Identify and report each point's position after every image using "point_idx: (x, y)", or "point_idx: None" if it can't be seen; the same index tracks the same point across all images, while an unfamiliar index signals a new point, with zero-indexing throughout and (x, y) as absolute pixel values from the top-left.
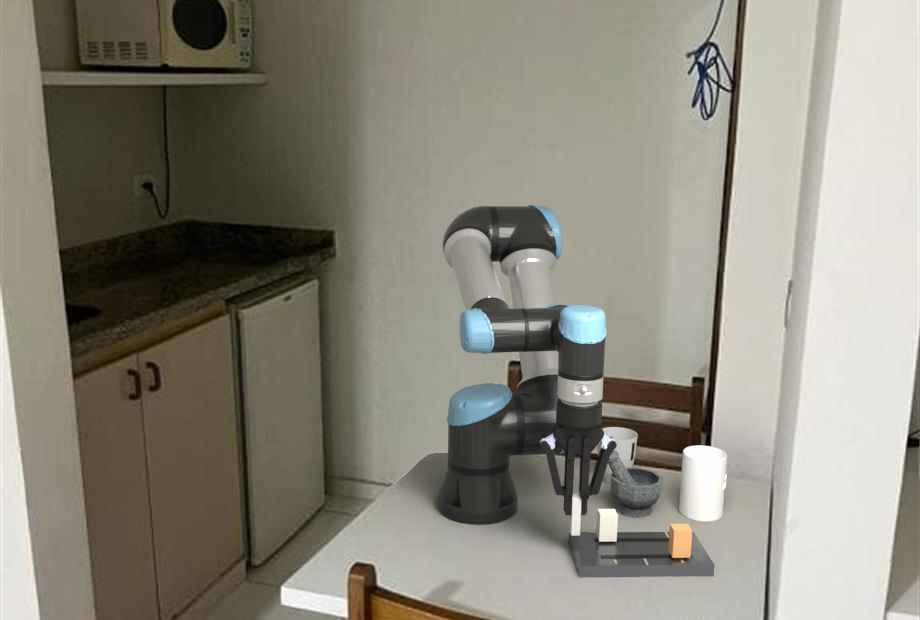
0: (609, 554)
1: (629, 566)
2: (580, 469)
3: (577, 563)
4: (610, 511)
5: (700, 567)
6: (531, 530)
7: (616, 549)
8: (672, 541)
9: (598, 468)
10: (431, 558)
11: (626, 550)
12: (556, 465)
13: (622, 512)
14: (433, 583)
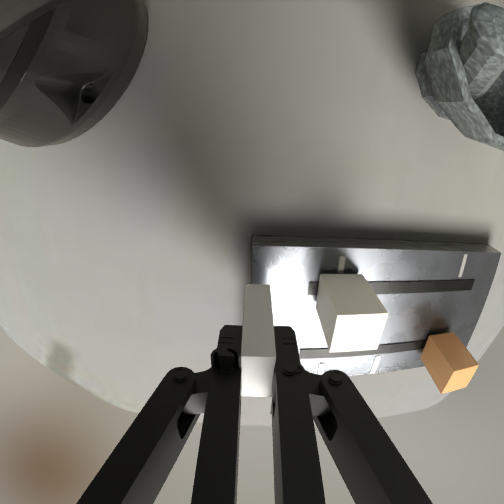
0: (320, 345)
1: None
2: (278, 462)
3: None
4: (368, 329)
5: None
6: (166, 162)
7: None
8: (433, 372)
9: (348, 486)
10: (17, 281)
11: None
12: (154, 499)
13: (423, 91)
14: (42, 345)
